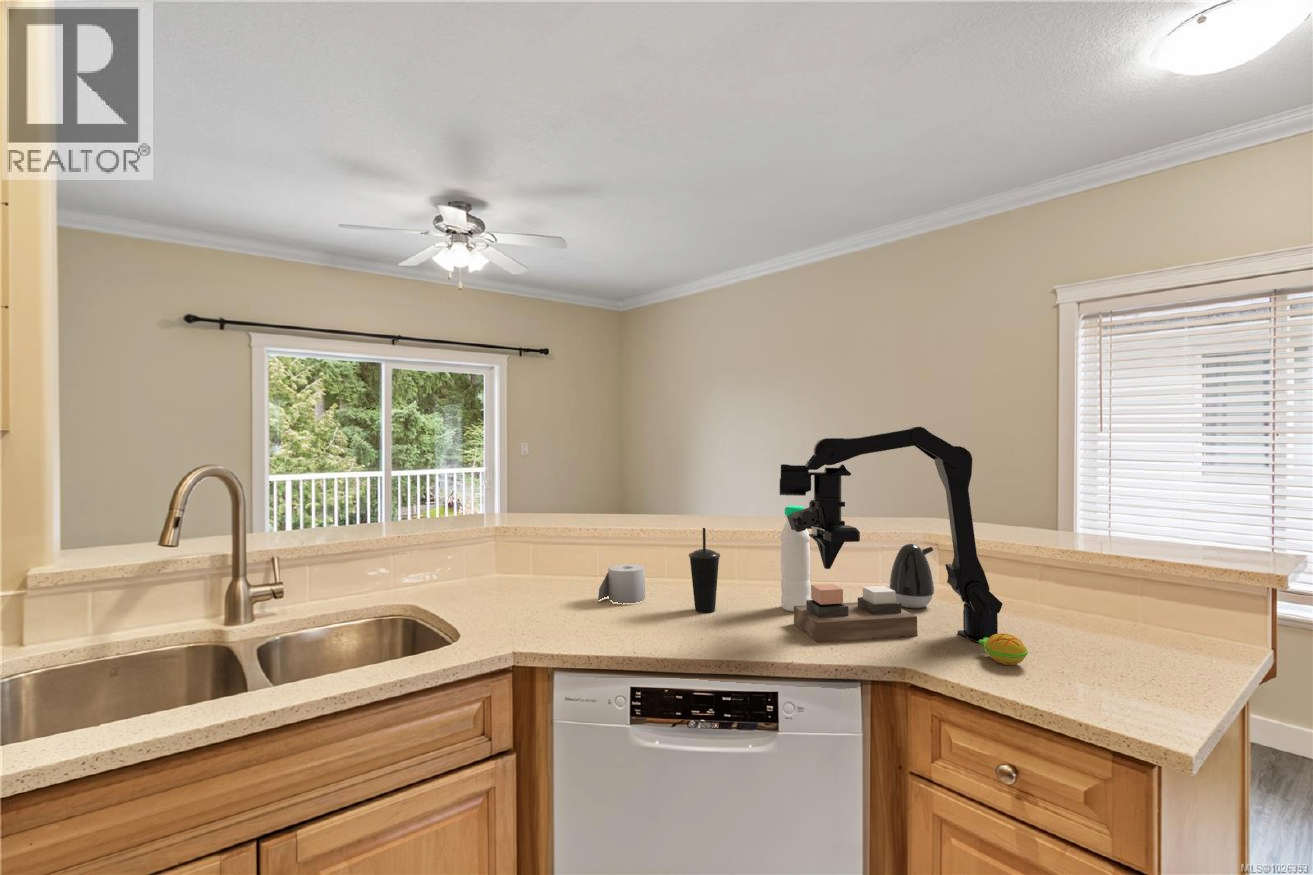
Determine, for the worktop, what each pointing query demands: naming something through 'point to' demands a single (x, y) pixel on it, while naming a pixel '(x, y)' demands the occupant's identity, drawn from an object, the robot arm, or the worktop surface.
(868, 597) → the white key
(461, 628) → the worktop surface
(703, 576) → the drinking cup
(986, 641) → the maraca
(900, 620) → the console
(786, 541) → the water bottle
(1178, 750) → the worktop surface
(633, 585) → the toilet tissue
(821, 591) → the terracotta key
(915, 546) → the pump dispenser
